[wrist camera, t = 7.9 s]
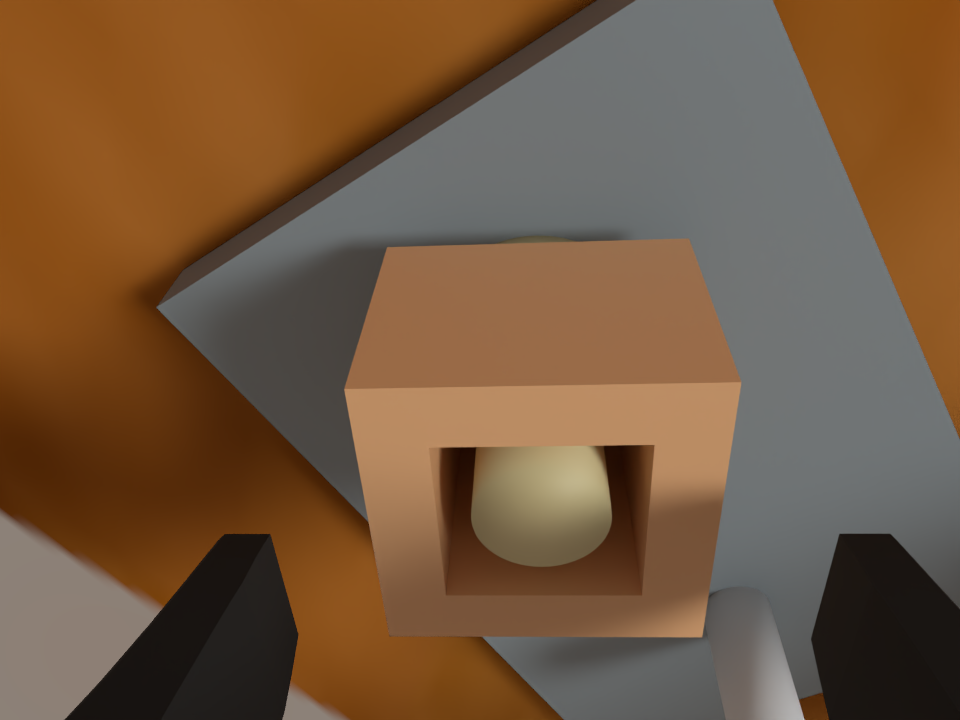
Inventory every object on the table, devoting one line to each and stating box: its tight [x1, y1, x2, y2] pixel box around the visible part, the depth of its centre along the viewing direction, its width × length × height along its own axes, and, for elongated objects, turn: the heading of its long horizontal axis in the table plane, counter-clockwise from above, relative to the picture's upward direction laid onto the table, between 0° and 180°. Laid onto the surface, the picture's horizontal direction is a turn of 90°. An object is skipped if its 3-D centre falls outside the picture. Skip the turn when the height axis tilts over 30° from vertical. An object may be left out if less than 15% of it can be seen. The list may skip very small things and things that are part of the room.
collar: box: [344, 238, 741, 637], centre depth 13 cm, size 5×5×4 cm
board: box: [156, 0, 960, 720], centre depth 17 cm, size 18×12×6 cm, turn 33°
